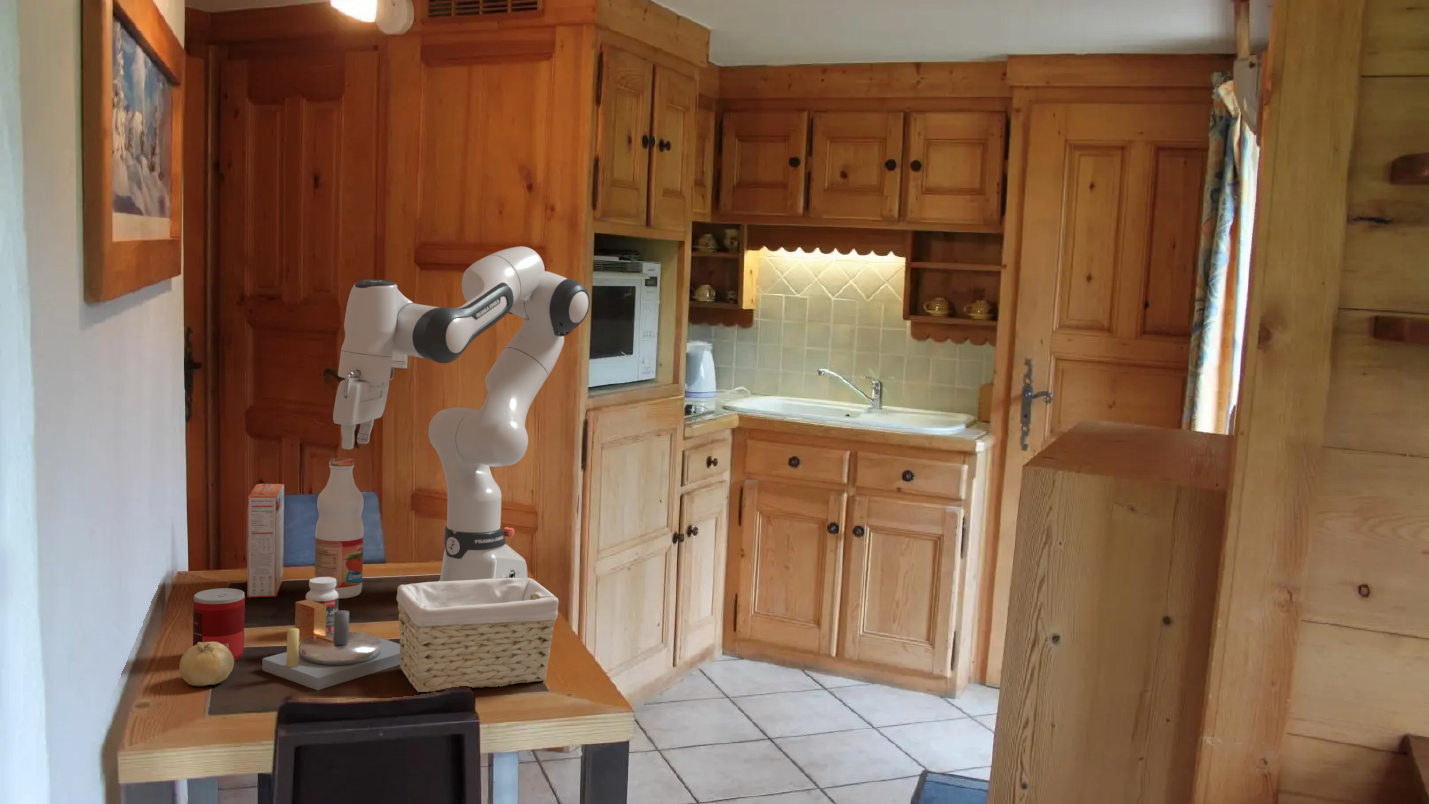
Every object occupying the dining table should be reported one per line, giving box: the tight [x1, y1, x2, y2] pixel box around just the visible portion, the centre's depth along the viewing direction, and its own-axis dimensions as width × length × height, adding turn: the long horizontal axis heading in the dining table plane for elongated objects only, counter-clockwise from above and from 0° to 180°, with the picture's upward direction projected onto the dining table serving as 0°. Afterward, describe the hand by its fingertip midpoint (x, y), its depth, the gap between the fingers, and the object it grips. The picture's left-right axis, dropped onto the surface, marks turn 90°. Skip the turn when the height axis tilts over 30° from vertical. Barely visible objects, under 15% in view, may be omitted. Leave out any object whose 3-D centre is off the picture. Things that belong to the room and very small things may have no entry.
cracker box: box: [246, 483, 285, 599], centre depth 232 cm, size 14×6×21 cm, turn 15°
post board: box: [261, 609, 400, 691], centre depth 189 cm, size 20×14×9 cm
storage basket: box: [396, 577, 560, 693], centre depth 188 cm, size 24×16×15 cm
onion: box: [178, 642, 235, 687], centre depth 178 cm, size 8×8×7 cm
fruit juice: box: [313, 457, 365, 600], centre depth 231 cm, size 9×9×28 cm
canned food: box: [192, 587, 246, 662], centre depth 189 cm, size 8×8×11 cm
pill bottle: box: [305, 577, 339, 633], centre depth 206 cm, size 6×6×10 cm
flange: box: [294, 599, 381, 665], centre depth 190 cm, size 13×17×7 cm
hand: (355, 446), depth 202 cm, fingers open, 8 cm apart
